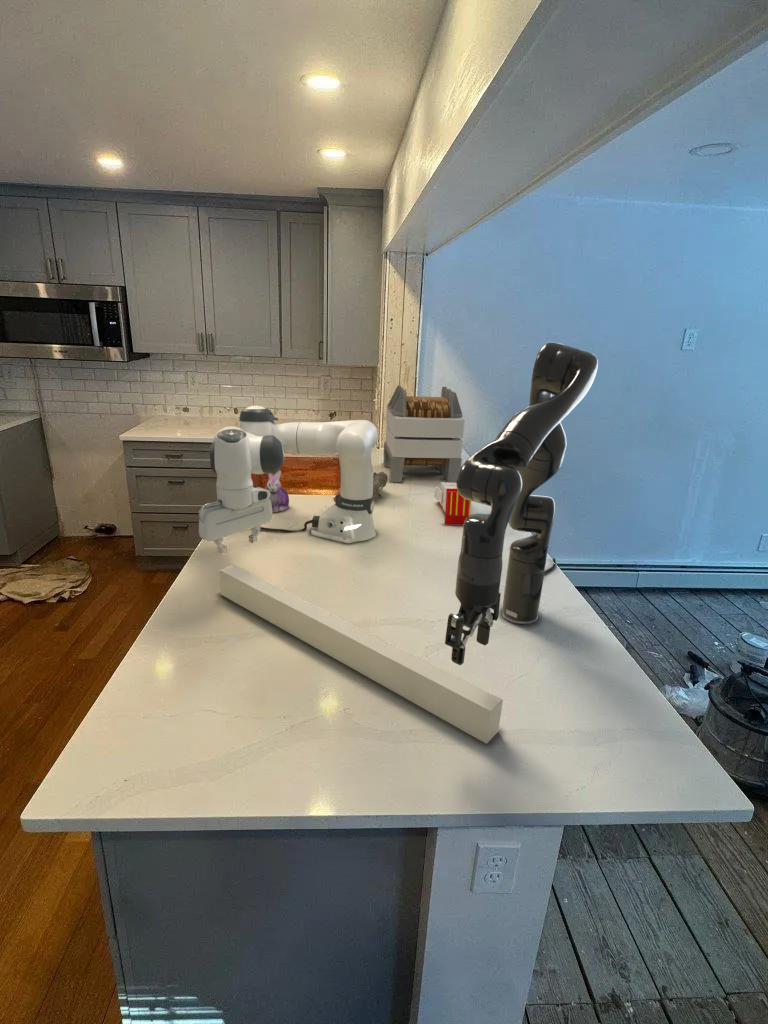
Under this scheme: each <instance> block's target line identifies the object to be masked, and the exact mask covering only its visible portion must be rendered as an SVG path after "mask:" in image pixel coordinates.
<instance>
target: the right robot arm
mask: <svg viewBox="0 0 768 1024" xmlns="http://www.w3.org/2000/svg"><path fill="white" fill-rule="evenodd" d="M598 366H599V360H598V358H597V356H596V355H595V354H593V353H591V352H589V351H588V350H587V351H586V350H583V349H581V348H580V349H579V348H576V347H573V346H569V345H565V344H563V343H560V342H554V341H549V342H546V343H545V344H543V345H542V346H541V348H539V350H538V352H537V354H536V357H535V360H534V362H533V367H532V372H531V379H530V390H529V400H528V402H529V403H528V406H527V407H525V408H523V409H521V410H520V411H518V412H517V413H515V414H513V416H511V417H510V419H508V421H507V422H506V423H505V425H504V426H503V427H502V428H501V430H500V432H499V433H498V434H497V436H495V438H494V439H493V440H492V441H490V442H489V443H487V444H486V445H484V446H483V447H482V448H481V449H479V450H478V451H476V452H475V453H473V454H472V455H471V456H470V457H469V458H467V459H466V461H464V463H463V464H461V469H460V470H459V473H458V475H457V480H456V486H457V490H458V492H459V494H460V495H461V496H462V497H463V498H465V499H467V500H470V501H471V502H474V503H477V504H481V505H485V506H488V507H491V510H490V513H473V514H470V516H468V517H467V518H466V519H465V521H464V525H462V536H461V545H460V551H459V556H458V562H457V570H456V571H457V572H456V582H455V593H454V594H455V597H456V599H457V600H458V602H459V603H460V606H459V609H458V613H456V614H454V613H452V612H451V613H449V615H448V616H447V617H448V618H447V623H446V633H445V640H444V645H446V646H448V647H450V648H451V658H450V659H451V662H452V663H454V664H456V665H458V666H462V665H463V664H464V663H465V654H466V645H467V644H468V642H469V641H468V640H469V639H470V638H472V637H474V634H475V632H476V642H477V643H478V644H480V645H482V646H487V645H488V644H489V642H490V633H491V628H492V627H493V625H494V621H498V619H499V614H500V615H501V617H503V618H504V619H505V620H506V621H507V622H510V623H512V624H516V625H523V626H524V625H525V626H526V625H527V626H528V625H532V624H535V623H536V622H538V618H539V610H540V603H541V598H542V591H543V585H544V578H545V575H546V574H548V573H550V572H551V571H553V570H554V569H555V567H556V565H557V561H556V558H555V557H553V558H552V561H553V562H554V563H555V564H554V563H553V565H552V566H551V567H550V568H548V569H546V564H547V558H548V551H549V545H550V538H551V534H552V529H553V526H554V520H555V515H556V502H555V500H554V498H553V497H550V496H546V495H537V494H532V493H534V491H536V490H537V489H539V487H541V486H543V485H544V484H546V483H547V482H548V481H549V480H550V479H552V478H553V477H554V476H556V474H557V473H558V472H559V470H560V469H561V467H562V464H563V461H564V458H565V454H566V449H567V445H568V443H567V442H568V441H567V435H566V432H565V429H564V428H563V425H562V421H563V420H564V419H565V418H566V417H567V416H568V415H569V414H570V413H571V412H572V410H574V409H575V408H576V406H577V405H579V403H580V402H581V401H582V400H583V399H584V398H585V397H586V395H587V393H588V392H589V390H590V389H591V387H592V385H593V383H594V381H595V378H596V376H597V372H598ZM508 525H509V527H510V529H512V530H513V531H517V532H524V533H532V535H529V536H526V537H524V538H519V539H516V540H514V541H513V542H512V543H510V545H509V552H508V562H507V568H506V576H505V582H504V583H505V585H504V592H503V601H502V607H501V611H500V605H501V595H502V594H501V592H500V588H501V587H500V586H501V579H502V572H503V571H502V570H503V552H504V544H505V536H506V530H507V527H508ZM533 533H534V534H533ZM491 610H493V611H491ZM464 627H466V628H468V629H467V630H466V629H464ZM476 629H477V631H476ZM462 636H463V637H462Z"/></svg>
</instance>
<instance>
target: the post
mask: <svg viewBox="0 0 768 1024" xmlns="http://www.w3.org/2000/svg"><path fill="white" fill-rule="evenodd" d="M219 585H220V596H222V597H224V598H226V599H227V600H230V601H231V602H233V603H235V604H237V605H238V606H241V607H242V608H244V609H246V610H247V611H249V612H251V613H253V614H255V615H256V616H258V617H259V618H262V619H263V620H265V621H267V622H269V623H271V624H272V625H274V626H275V627H277V628H279V629H282V630H283V631H284V632H287V633H289V634H290V635H292V636H294V637H296V638H297V639H299V640H301V641H302V642H305V643H306V644H308V645H310V646H312V647H314V648H315V649H317V650H319V651H320V652H321V653H324V654H326V655H327V656H330V657H331V658H333V659H335V660H336V661H338V662H340V663H342V664H344V665H345V666H347V667H349V668H351V669H353V670H354V671H356V672H357V673H360V674H361V675H363V676H365V677H366V678H368V679H370V680H372V681H374V682H376V683H378V684H379V685H381V686H383V687H384V688H386V689H388V690H389V691H392V692H393V693H395V694H397V695H398V696H401V697H402V698H404V699H406V700H408V701H409V702H411V703H412V704H414V705H417V707H420V708H422V709H424V710H425V711H427V712H429V713H431V714H432V715H434V716H436V717H438V718H440V719H441V720H443V721H445V722H446V723H448V724H451V725H452V726H454V727H455V728H457V729H459V730H461V731H463V732H464V733H466V734H468V735H470V736H472V737H473V738H475V739H477V740H478V741H481V742H482V743H484V744H488V743H489V742H490V741H491V740H492V739H493V738H494V737H495V736H496V735H497V734H498V733H499V730H500V723H501V717H502V708H503V702H504V699H503V698H501V697H499V696H497V695H495V694H493V693H490V692H489V691H487V690H485V689H483V688H480V687H479V686H476V685H475V684H473V683H471V682H468V681H467V680H465V679H463V678H461V677H459V676H457V675H455V674H453V673H451V672H449V671H446V670H445V669H443V668H441V667H439V666H436V665H434V664H433V663H431V662H429V661H427V660H425V659H422V658H421V657H419V656H416V655H415V654H413V653H411V652H409V651H407V650H405V649H403V648H401V647H399V646H396V645H395V644H393V643H391V642H389V641H387V640H385V639H382V638H381V637H379V636H376V635H375V634H372V633H370V632H368V631H367V630H365V629H363V628H361V627H358V626H357V625H355V624H353V623H351V622H349V621H347V620H345V619H342V618H340V617H339V616H336V615H334V614H333V613H331V612H330V611H329V612H328V611H327V610H325V609H323V608H321V607H318V606H317V605H315V604H313V603H311V602H309V601H306V600H305V599H303V598H301V597H299V596H297V595H294V594H293V593H291V592H289V591H286V590H285V589H283V588H281V587H278V586H277V585H275V584H273V583H271V582H269V581H267V580H265V579H263V578H260V577H258V576H257V575H255V574H253V573H250V572H249V571H247V570H245V569H243V568H240V566H237V565H235V564H232V565H229V566H226V567H224V568H220V569H219Z"/></svg>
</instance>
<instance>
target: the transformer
mask: <svg viewBox="0 0 768 1024" xmlns="http://www.w3.org/2000/svg"><path fill="white" fill-rule="evenodd" d="M440 393H441V394H440V396H415V395H414V396H413V395H412V396H411V395H407V394H408V393H407V390H406V389H404V388H403V387H402V385H399V384H398V385H397V386H396V388H395V390H394V392H393V394H392V395H391V398H390V400H389V402H388V404H387V405H386V413H385V414H386V415H385V423H386V428H385V438H384V442H383V466H384V467H388V468H389V475H388V476H389V477H388V478H389V480H390V482H391V483H402V482H403V475H404V469H405V466H406V467H407V466H411V467H412V466H413V467H415V466H416V467H417V466H418V467H436V468H437V470H438V469H439V473H440V474H441V475H443V478H444V479H445V481H446V482H447V483H456V480H457V475H458V473H459V470H460V469H461V467H462V461H463V460H462V453H463V442H464V441H463V440H462V439H463V438H464V431H465V430H464V429H465V419H464V418H463V411H462V408H461V405H460V402H459V398H458V395H457V392H455V391H453V390H452V389H451V388H447V386H442V387H441V392H440Z"/></svg>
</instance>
